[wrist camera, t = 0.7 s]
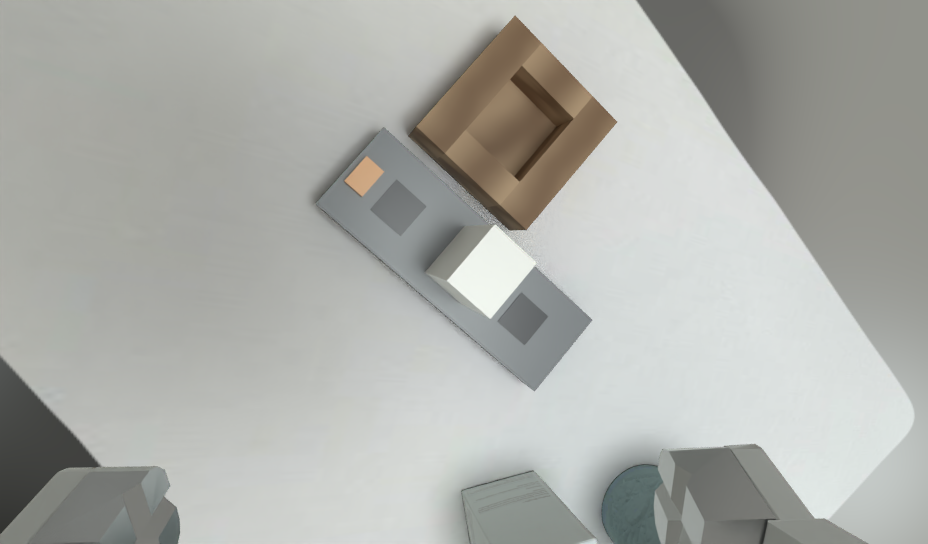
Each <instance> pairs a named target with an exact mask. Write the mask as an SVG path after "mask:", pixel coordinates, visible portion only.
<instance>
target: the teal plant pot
mask: <svg viewBox="0 0 928 544" xmlns="http://www.w3.org/2000/svg"><path fill="white" fill-rule="evenodd" d="M662 483H663V480H662V478H661V475H660V473H659V471H658V467H657V466H653V465H639V466H635V467H632V468H630V469H628V470H626V471H624V472H623V473H621V474H620V475H619V476H618V477H617V478H616V479H615V480H614V481H613V482H612V483H611V485H610V487H609V488H608V490H607V492H606V494H605V497H604V501H603V505H602V520H603V524H604V527H605V530H606V532H607V534H608V536H609V537H610V538H611V540H612V541H613V543H614V544H661V542H660V540H659V536H658V532H657V529H656V525H655V515H654V498H655V490H656V489H657V488H658V487H659V486H660V485H661V484H662Z"/></svg>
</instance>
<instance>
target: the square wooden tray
mask: <svg viewBox="0 0 928 544" xmlns="http://www.w3.org/2000/svg"><path fill="white" fill-rule="evenodd" d="M616 123H617V121H616V120H615V119H614V118H613V117H612V116H611V115H610V114H609V113H608V112H607V111H606V110H605V109H604V108H603V107H602V106H601V105H600V103H599V102H598V101H597V100H596V99H595V98H594V97H593V96H592V95H591V94H590V93H589V92H588V91H587V90H586V89H585V88H584V87H583V86H582V85H581V84H580V83H579V82H578V81H577V79H576V78H575V77H574V76H573V75H572V74H571V73H570V72H569V71H568V70H567V69H566V68H565V67H564V66H563V65H562V64H561V63H560V62H559V61H558V60H557V59H556V58H555V57H554V55H553V54H552V53H551V52H550V51H549V50H548V49H547V48H546V47H545V46H544V45H543V44H542V43H541V42H540V41H539V40H538V39H537V38H536V37H535V36H534V35H533V34H532V33H531V32H530V30H529V29H528V28H527V27H526V26H525V25H524V24H523V23H522V22H521V21H520V20H519V19H518V18H517V17H516V16H514V17H513V18H512V20H511V21H510V22H509V23H508V24H507V25H506V26H505V27H504V29H503V30H502V31H501V32H500V33H499V34H498V35H497V36H496V37H495V39H494V40H493V41H492V42H491V43H490V44H489V45H488V46H487V48H486V49H485V50H484V51H483V52H482V53H481V54H480V55H479V57H478V58H477V59H476V60H475V61H474V62H473V63H472V64H471V66H470V67H469V68H468V69H467V70H466V71H465V72H464V73H463V75H462V76H461V77H460V78H459V79H458V80H457V81H456V82H455V84H454V85H453V86H452V87H451V88H450V89H449V90H448V91H447V93H446V94H445V95H444V96H443V97H442V98H441V99H440V100H439V101H438V103H437V104H436V105H435V106H434V107H433V108H432V109H431V110H430V112H429V113H428V114H427V115H426V116H425V117H424V118H423V119H422V121H421V122H420V123H419V124H418V125H417V126H416V127H415V129H414V130H413V131H412V132H411V133H410V135H409V137H410V138H411V139H412V140H413V141H414V142H415V143H416V144H418V145H419V146H420V147H421V148H422V149H423V150H424V151H425V152H426V153H427V154H428V155H429V156H430V157H431V158H433V159H434V160H435V161H436V162H437V163H438V164H439V165H440V166H441V167H442V168H443V169H444V170H445V171H447V172H448V173H449V174H450V175H451V176H452V177H453V178H454V179H455V180H456V181H457V182H458V183H459V184H460V185H462V186H463V187H464V188H465V189H466V190H467V191H468V192H469V193H470V194H471V195H472V196H473V197H474V198H476V199H477V200H478V201H479V202H480V203H481V204H482V205H483V206H484V207H485V208H486V209H487V210H488V211H490V212H491V213H492V214H493V215H494V216H495V217H496V218H497V219H498V220H499V221H500V222H501V223H502V224H503V225H505V226H506V227H507V228H508V229H509V230H527V229H528V227H529V226H530V225H531V224H532V223H533V221H534V220H535V219H536V218H537V217H538V216H539V214H540V213H541V212H542V211H543V210H544V208H545V207H546V206H547V205H548V204H549V202H550V201H551V200H552V199H553V198H554V197H555V195H556V194H557V193H558V192H559V191H560V189H561V188H562V187H563V186H564V185H565V184H566V182H567V181H568V180H569V179H570V178H571V176H572V175H573V174H574V173H575V172H576V170H577V169H578V168H579V167H580V166H581V165H582V163H583V162H584V161H585V160H586V159H587V157H588V156H589V155H590V154H591V153H592V151H593V150H594V149H595V148H596V147H597V146H598V144H599V143H600V142H601V141H602V140H603V138H604V137H605V136H606V135H607V134H608V133H609V131H610V130H611V129H612V128H613V127H614V125H615V124H616Z"/></svg>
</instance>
